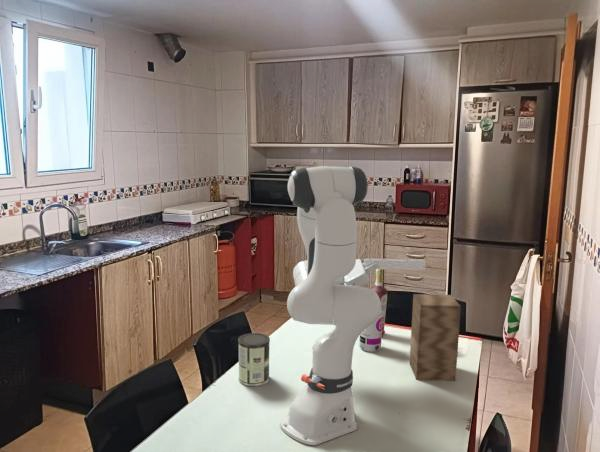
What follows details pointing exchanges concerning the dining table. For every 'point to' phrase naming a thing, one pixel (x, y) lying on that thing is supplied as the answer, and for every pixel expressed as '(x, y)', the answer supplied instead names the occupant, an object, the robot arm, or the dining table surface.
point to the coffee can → (253, 359)
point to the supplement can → (372, 336)
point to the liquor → (381, 295)
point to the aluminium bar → (396, 264)
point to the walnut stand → (434, 337)
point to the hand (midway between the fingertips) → (377, 262)
